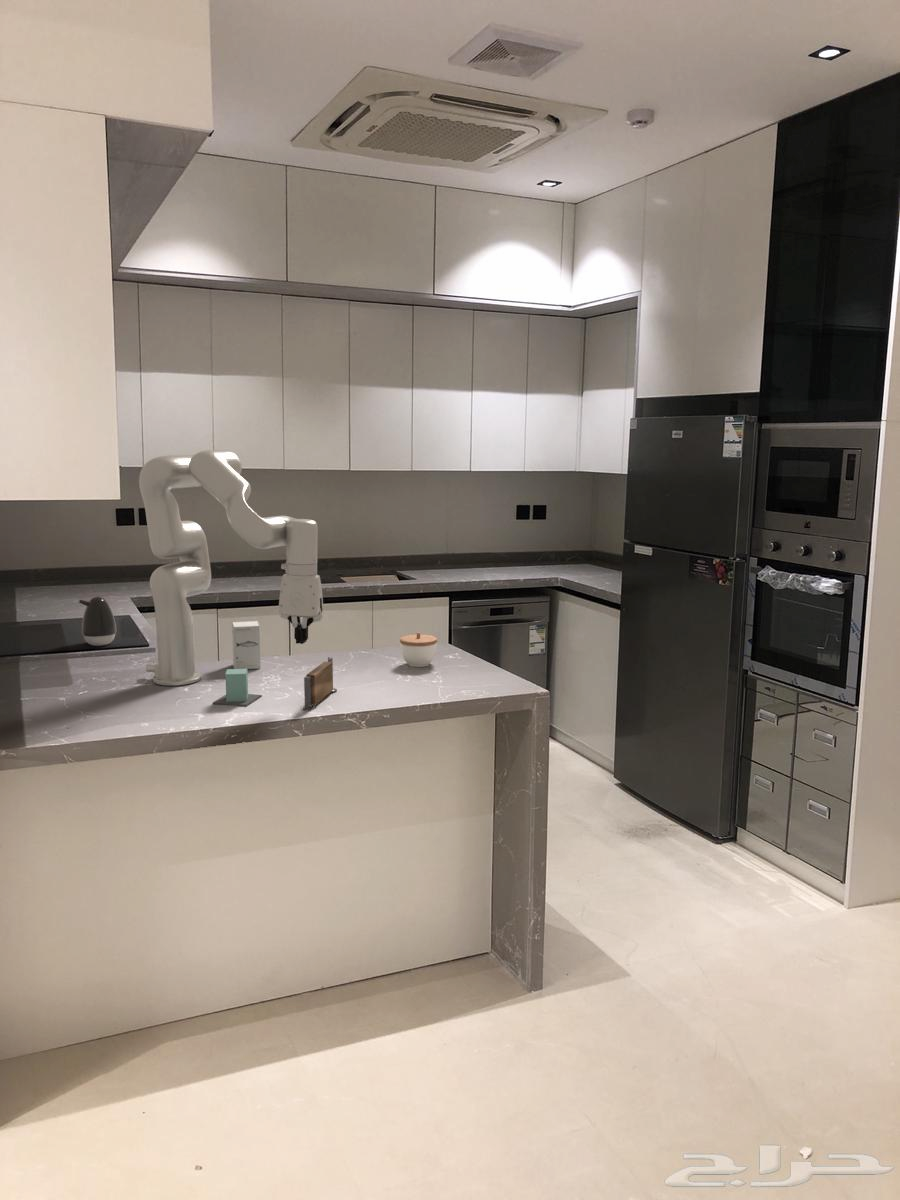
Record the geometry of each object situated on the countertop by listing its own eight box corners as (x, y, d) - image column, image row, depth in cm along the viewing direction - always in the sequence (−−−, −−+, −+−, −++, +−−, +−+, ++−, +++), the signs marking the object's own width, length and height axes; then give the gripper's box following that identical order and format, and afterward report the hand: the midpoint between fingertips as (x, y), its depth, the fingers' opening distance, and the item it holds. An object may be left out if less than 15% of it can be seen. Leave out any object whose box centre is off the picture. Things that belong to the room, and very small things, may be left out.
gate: (306, 704, 233) (306, 674, 232) (324, 689, 246) (324, 661, 245) (315, 705, 232) (314, 675, 231) (333, 690, 246) (332, 661, 244)
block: (226, 701, 236) (225, 674, 235) (228, 696, 241) (227, 669, 240) (246, 701, 237) (246, 673, 236) (248, 695, 242) (247, 668, 241)
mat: (212, 703, 236) (212, 702, 236) (228, 694, 244) (228, 692, 244) (246, 706, 234) (246, 704, 234) (261, 696, 242) (261, 694, 242)
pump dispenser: (83, 641, 303) (80, 594, 300) (117, 639, 306) (114, 593, 304) (81, 648, 294) (77, 600, 291) (116, 646, 297) (113, 598, 294)
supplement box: (234, 670, 268) (232, 626, 266) (233, 664, 275) (231, 621, 273) (261, 669, 270) (259, 625, 268) (259, 663, 277) (257, 620, 275)
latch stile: (302, 709, 231) (301, 677, 230) (305, 707, 233) (305, 675, 232) (311, 710, 231) (310, 678, 229) (314, 707, 233) (313, 676, 231)
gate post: (322, 692, 246) (322, 658, 244) (327, 689, 249) (326, 655, 248) (334, 693, 245) (333, 659, 244) (338, 690, 248) (338, 656, 247)
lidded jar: (395, 667, 272) (395, 635, 270) (405, 659, 282) (405, 628, 280) (431, 670, 269) (431, 637, 268) (441, 661, 280) (441, 629, 278)
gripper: (267, 570, 232) (267, 643, 236) (325, 574, 229) (324, 648, 232) (279, 565, 239) (279, 636, 243) (335, 569, 236) (334, 641, 240)
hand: (301, 642), depth 238 cm, fingers closed
